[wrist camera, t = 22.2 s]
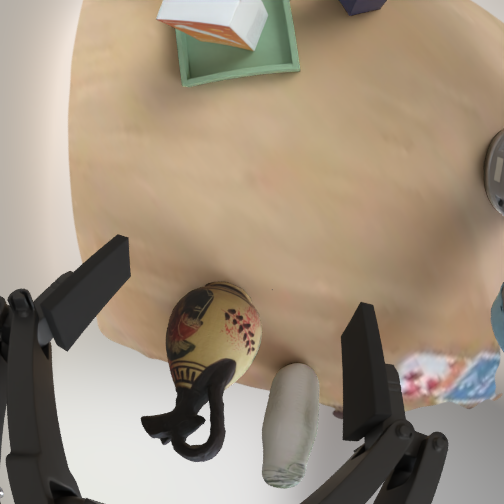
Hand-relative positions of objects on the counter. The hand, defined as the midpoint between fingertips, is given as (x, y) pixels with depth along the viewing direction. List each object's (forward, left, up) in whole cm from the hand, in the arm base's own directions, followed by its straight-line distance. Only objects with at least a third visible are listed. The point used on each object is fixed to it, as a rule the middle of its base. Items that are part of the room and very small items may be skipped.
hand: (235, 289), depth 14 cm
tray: (+4, -22, -27) cm, 35 cm away
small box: (+4, -22, -26) cm, 35 cm away
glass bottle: (-1, +42, -27) cm, 50 cm away
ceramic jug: (+11, +23, -27) cm, 37 cm away
